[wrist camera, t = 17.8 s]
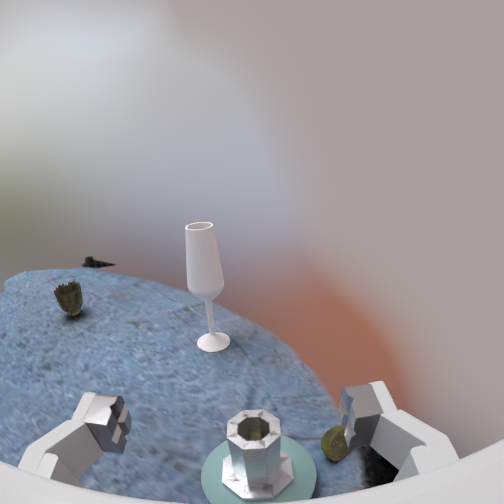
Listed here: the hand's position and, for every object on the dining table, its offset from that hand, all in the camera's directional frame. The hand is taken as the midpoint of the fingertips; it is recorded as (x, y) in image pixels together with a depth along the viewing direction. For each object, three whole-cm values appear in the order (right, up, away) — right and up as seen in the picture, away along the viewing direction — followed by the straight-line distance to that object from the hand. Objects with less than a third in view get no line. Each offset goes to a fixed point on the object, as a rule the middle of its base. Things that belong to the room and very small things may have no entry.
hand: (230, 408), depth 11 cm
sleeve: (+1, -21, +22) cm, 30 cm away
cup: (-45, -11, +63) cm, 78 cm away
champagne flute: (-7, -13, +53) cm, 55 cm away
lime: (+12, -22, +26) cm, 36 cm away
